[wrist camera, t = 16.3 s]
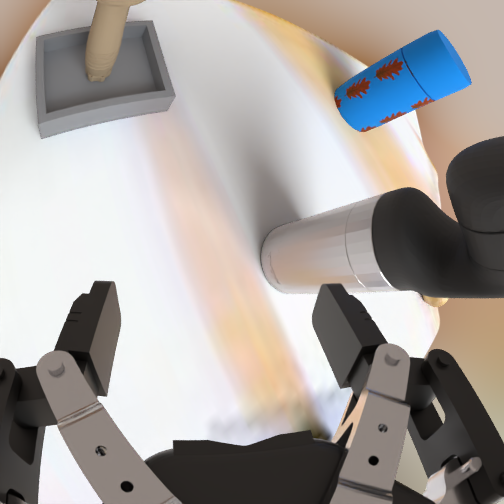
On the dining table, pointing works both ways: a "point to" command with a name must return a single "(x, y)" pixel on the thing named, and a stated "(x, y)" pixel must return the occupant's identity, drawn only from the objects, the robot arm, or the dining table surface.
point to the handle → (106, 37)
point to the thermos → (402, 82)
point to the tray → (98, 93)
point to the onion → (434, 301)
